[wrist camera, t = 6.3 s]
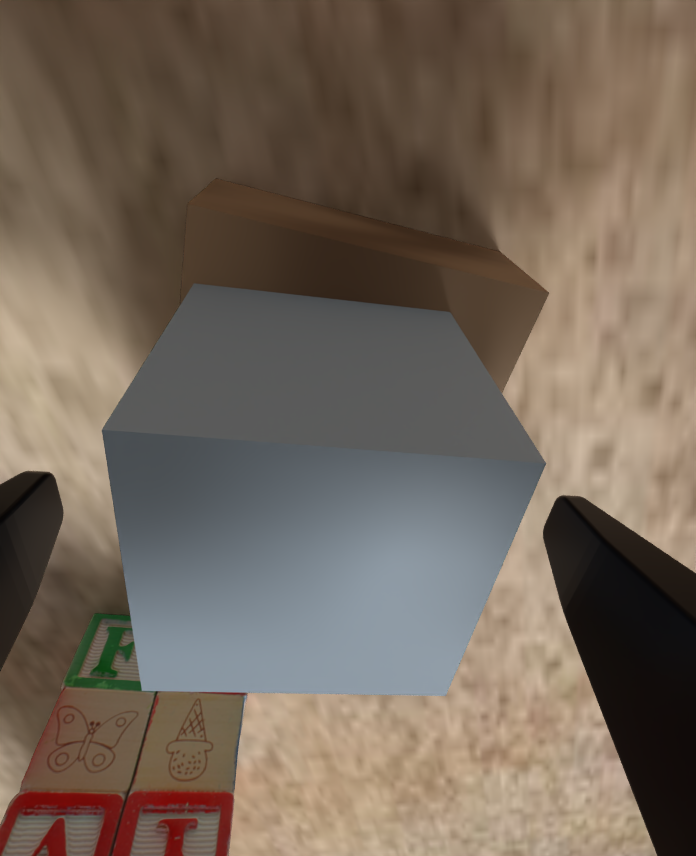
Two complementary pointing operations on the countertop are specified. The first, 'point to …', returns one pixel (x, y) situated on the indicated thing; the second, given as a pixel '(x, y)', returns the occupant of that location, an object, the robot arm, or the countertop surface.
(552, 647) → the countertop surface
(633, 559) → the robot arm
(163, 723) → the stack of blocks
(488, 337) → the walnut slab
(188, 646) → the slate cube
